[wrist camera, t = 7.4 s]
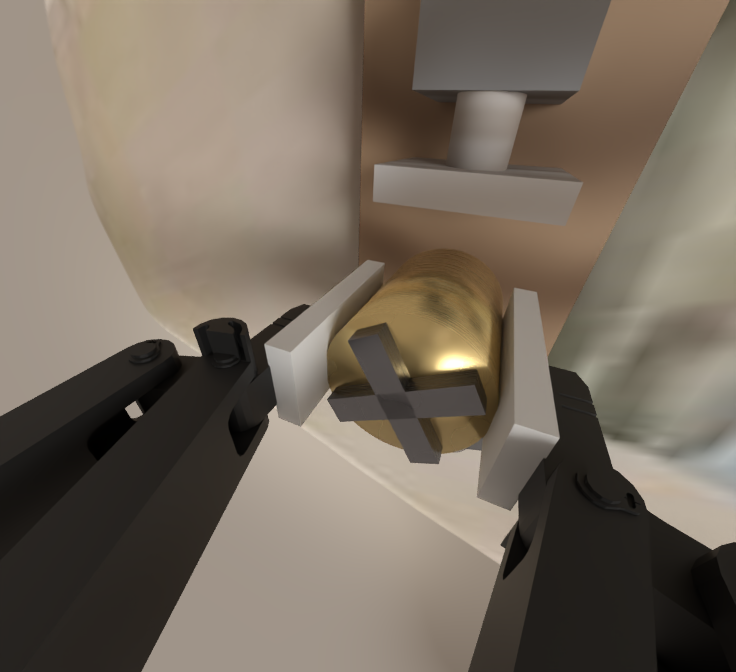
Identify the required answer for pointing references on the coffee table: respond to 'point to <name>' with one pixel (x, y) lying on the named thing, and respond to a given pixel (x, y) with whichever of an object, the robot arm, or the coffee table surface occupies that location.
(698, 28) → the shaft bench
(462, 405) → the gold rounded cylinder
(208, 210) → the coffee table surface
